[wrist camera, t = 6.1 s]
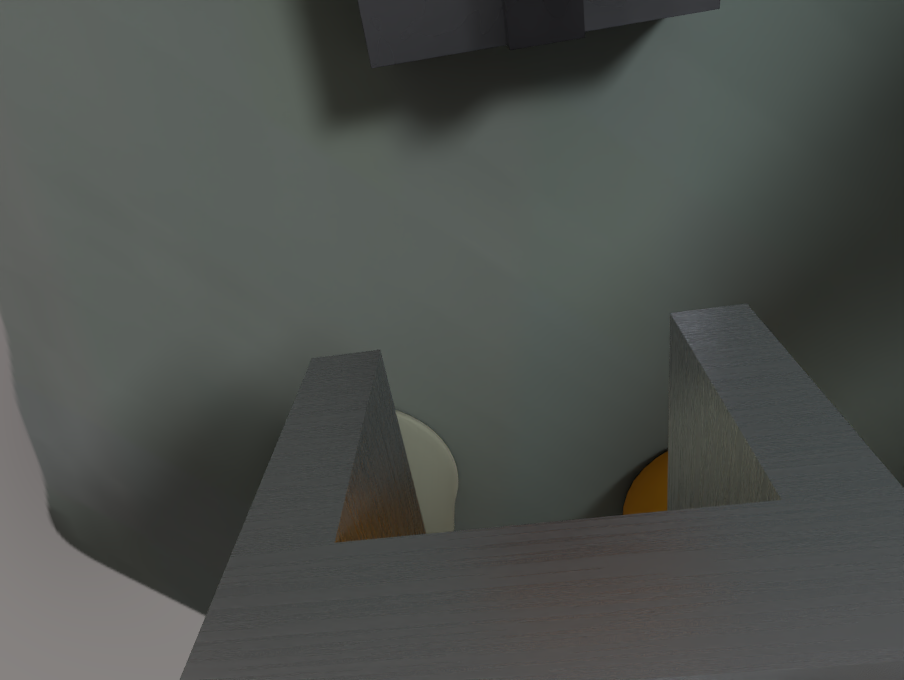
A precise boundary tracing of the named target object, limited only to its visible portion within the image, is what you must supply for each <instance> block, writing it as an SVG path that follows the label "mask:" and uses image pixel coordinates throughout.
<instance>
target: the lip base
mask: <svg viewBox="0 0 904 680" xmlns="http://www.w3.org/2000/svg"><path fill="white" fill-rule="evenodd" d="M358 4H359V9H360V14H361V19H362V24H363V29H364V34H365V39H366V44H367V48H368V53H369V58H370V63H371V68H376V67H382V66H388V65H393V64H399V63H405V62H411V61H417V60H423V59H428V58H434V57H440V56H446V55H452V54H458V53H463V52H469V51H475V50H481V49H487V48H493V47H499V46H504V45H507V46H508V48H509V49H510V50H514V49H520V48H526V47H532V46H538V45H544V44H549V43H555V42H561V41H567V40H573V39H579V38H585V32H586V31H592V30H598V29H604V28H610V27H615V26H621V25H627V24H633V23H639V22H645V21H650V20H656V19H662V18H668V17H674V16H680V15H685V14H691V13H697V12H703V11H709V10H715V9H720V0H358Z"/></svg>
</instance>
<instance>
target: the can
mask: <svg viewBox="0 0 904 680" xmlns="http://www.w3.org/2000/svg"><path fill="white" fill-rule="evenodd" d="M395 411H396V415H397V419H398V423H399V427H400V431H401V435H402V439H403V443H404V447H405V451H406V455H407V459H408V463H409V467H410V471H411V475H412V479H413V483H414V487H415V491H416V495H417V499H418V503H419V507H420V511H421V515H422V519H423V523H424V527H425V531H426V534H430V533H440V532H451V531H454V512H455V499H456V496H457V491H458V471H457V467H456V463H455V461H454V458H453V456H452V454H451V452H450V450H449V448H448V447H447V445H446V444H445V443H444V442H443V440H442V439H441V438H440V437H439V436H438V435H437V434H436V433H435V432H434V431H433V430H432V429H431V428H429V427H428V426H427V425H425V424H424V423H422V422H421V421H419V420H417V419H416V418H414V417H412V416H410V415H407V414H405V413H403V412H400V411H397V410H395Z"/></svg>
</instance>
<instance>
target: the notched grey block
mask: <svg viewBox="0 0 904 680" xmlns="http://www.w3.org/2000/svg"><path fill="white" fill-rule="evenodd" d="M180 680H904V488H903V487H902V485H901V484H900V483H899V482H898V481H897V480H896V478H895V477H894V476H893V475H892V474H891V473H890V471H889V470H888V469H887V468H886V467H885V465H884V464H883V463H882V462H881V461H880V460H879V458H878V457H877V456H876V455H875V454H874V453H873V451H872V450H871V449H870V448H869V447H868V445H867V444H866V443H865V442H864V441H863V440H862V438H861V437H860V436H859V435H858V434H857V433H856V431H855V430H854V429H853V428H852V427H851V425H850V424H849V423H848V422H847V421H846V420H845V418H844V417H843V416H842V415H841V414H840V413H839V411H838V410H837V409H836V408H835V407H834V405H833V404H832V403H831V402H830V401H829V400H828V398H827V397H826V396H825V395H824V394H823V392H822V391H821V390H820V389H819V388H818V387H817V385H816V384H815V383H814V382H813V381H812V380H811V378H810V377H809V376H808V375H807V374H806V372H805V371H804V370H803V369H802V368H801V367H800V365H799V364H798V363H797V362H796V361H795V360H794V358H793V357H792V356H791V355H790V354H789V352H788V351H787V350H786V349H785V348H784V347H783V345H782V344H781V343H780V342H779V341H778V340H777V338H776V337H775V336H774V335H773V334H772V332H771V331H770V330H769V329H768V328H767V327H766V325H765V324H764V323H763V322H762V321H761V320H760V318H759V317H758V316H757V315H756V314H755V312H754V311H753V310H752V309H751V308H750V307H749V305H748V304H739V305H731V306H723V307H715V308H707V309H699V310H691V311H683V312H675V313H670V359H669V427H668V495H667V511H659V512H649V513H638V514H628V515H618V516H607V517H597V518H586V519H576V520H565V521H555V522H545V523H534V524H524V525H513V526H503V527H492V528H482V529H472V530H461V531H451V532H440V533H430V534H426V531H425V527H424V523H423V519H422V515H421V511H420V507H419V503H418V499H417V495H416V491H415V487H414V483H413V479H412V475H411V471H410V467H409V463H408V459H407V455H406V451H405V447H404V443H403V439H402V435H401V431H400V427H399V423H398V419H397V415H396V411H395V407H394V403H393V399H392V395H391V391H390V387H389V383H388V379H387V375H386V371H385V366H384V362H383V358H382V354H381V350H373V351H365V352H357V353H349V354H341V355H333V356H325V357H317V358H312V359H311V361H310V364H309V366H308V369H307V371H306V373H305V376H304V378H303V381H302V383H301V386H300V388H299V390H298V393H297V395H296V398H295V400H294V403H293V405H292V407H291V410H290V412H289V415H288V417H287V420H286V422H285V425H284V427H283V429H282V432H281V434H280V437H279V439H278V442H277V444H276V446H275V449H274V451H273V454H272V456H271V459H270V461H269V464H268V466H267V468H266V471H265V473H264V476H263V478H262V481H261V483H260V485H259V488H258V490H257V493H256V495H255V498H254V500H253V502H252V505H251V507H250V510H249V512H248V515H247V517H246V520H245V522H244V524H243V527H242V529H241V532H240V534H239V537H238V539H237V541H236V544H235V546H234V549H233V551H232V554H231V556H230V559H229V561H228V563H227V566H226V568H225V571H224V573H223V576H222V578H221V580H220V583H219V585H218V588H217V590H216V593H215V595H214V597H213V600H212V602H211V605H210V607H209V610H208V612H207V615H206V617H205V620H204V622H203V624H202V627H201V629H200V632H199V634H198V637H197V639H196V641H195V644H194V646H193V649H192V651H191V653H190V656H189V659H188V661H187V663H186V666H185V668H184V671H183V673H182V675H181V678H180Z"/></svg>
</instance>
